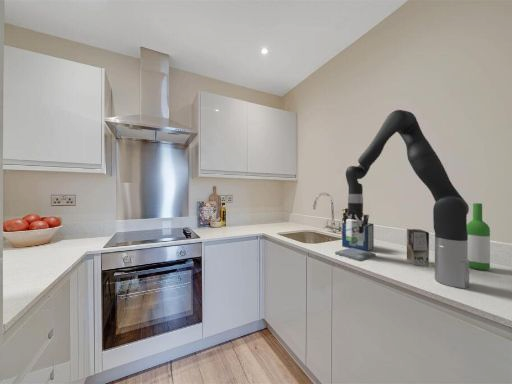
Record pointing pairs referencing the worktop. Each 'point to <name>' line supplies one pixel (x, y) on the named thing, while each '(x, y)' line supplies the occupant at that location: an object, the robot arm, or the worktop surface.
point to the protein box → (360, 245)
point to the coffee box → (418, 247)
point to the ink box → (354, 231)
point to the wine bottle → (478, 241)
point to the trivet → (355, 254)
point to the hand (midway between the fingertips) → (355, 232)
